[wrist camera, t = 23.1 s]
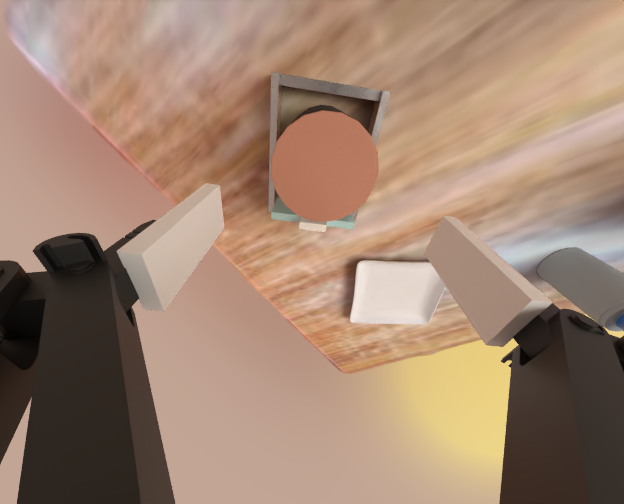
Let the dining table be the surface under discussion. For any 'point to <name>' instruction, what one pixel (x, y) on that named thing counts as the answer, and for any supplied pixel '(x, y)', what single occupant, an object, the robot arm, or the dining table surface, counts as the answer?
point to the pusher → (288, 215)
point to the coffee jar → (324, 164)
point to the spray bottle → (587, 285)
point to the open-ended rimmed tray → (325, 87)
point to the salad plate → (395, 292)
